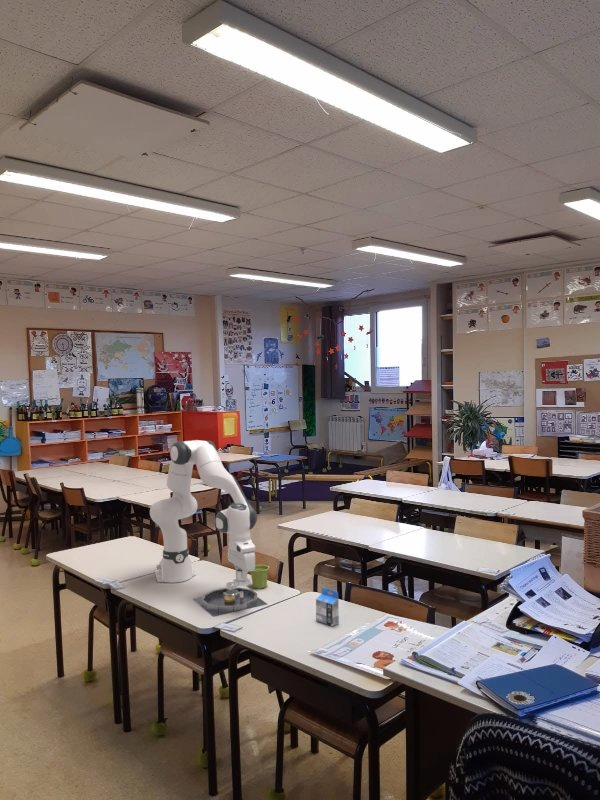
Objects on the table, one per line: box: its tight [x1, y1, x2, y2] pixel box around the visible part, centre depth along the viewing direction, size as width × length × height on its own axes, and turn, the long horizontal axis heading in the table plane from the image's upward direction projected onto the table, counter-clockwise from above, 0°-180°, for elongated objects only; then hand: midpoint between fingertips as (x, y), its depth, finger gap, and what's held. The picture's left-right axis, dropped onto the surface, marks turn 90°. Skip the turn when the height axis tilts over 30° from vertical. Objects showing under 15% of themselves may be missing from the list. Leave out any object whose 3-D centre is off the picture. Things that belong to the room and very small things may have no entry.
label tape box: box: [315, 586, 340, 627], centre depth 228 cm, size 9×4×12 cm, turn 45°
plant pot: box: [249, 564, 270, 590], centre depth 272 cm, size 9×9×9 cm
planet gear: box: [232, 568, 251, 587], centre depth 247 cm, size 7×7×6 cm
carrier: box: [192, 581, 268, 618], centre depth 251 cm, size 24×24×7 cm
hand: (241, 576), depth 247 cm, fingers closed on planet gear, 4 cm apart
